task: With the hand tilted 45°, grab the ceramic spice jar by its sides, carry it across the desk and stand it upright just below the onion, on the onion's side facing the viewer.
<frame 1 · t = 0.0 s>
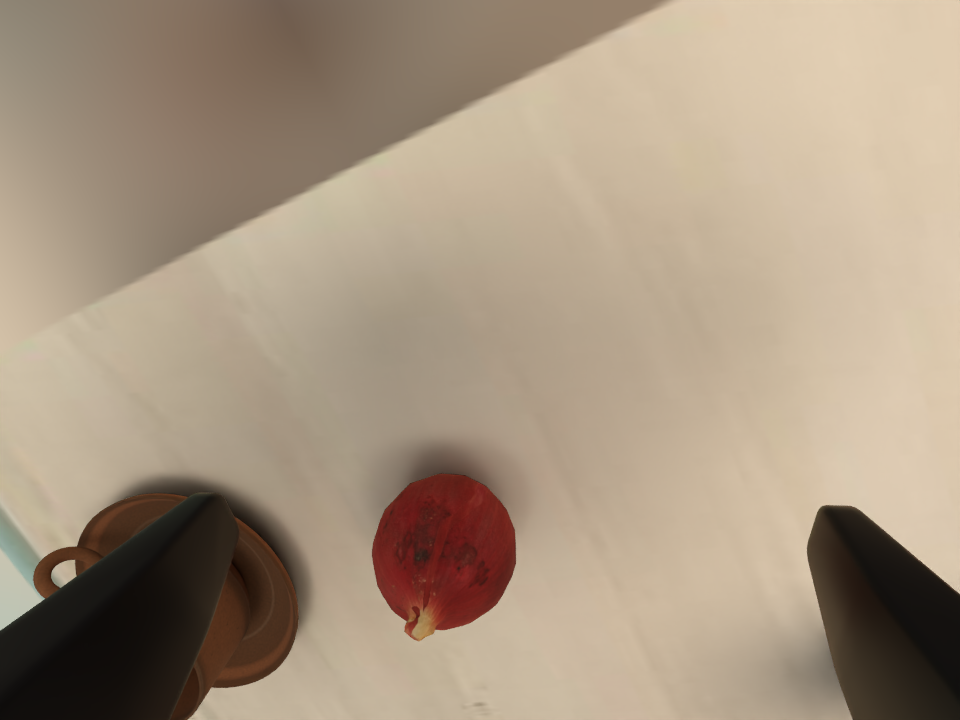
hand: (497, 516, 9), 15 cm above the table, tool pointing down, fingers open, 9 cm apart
onion: (462, 495, 27), on the table
cup and saucer: (208, 570, 31), on the table
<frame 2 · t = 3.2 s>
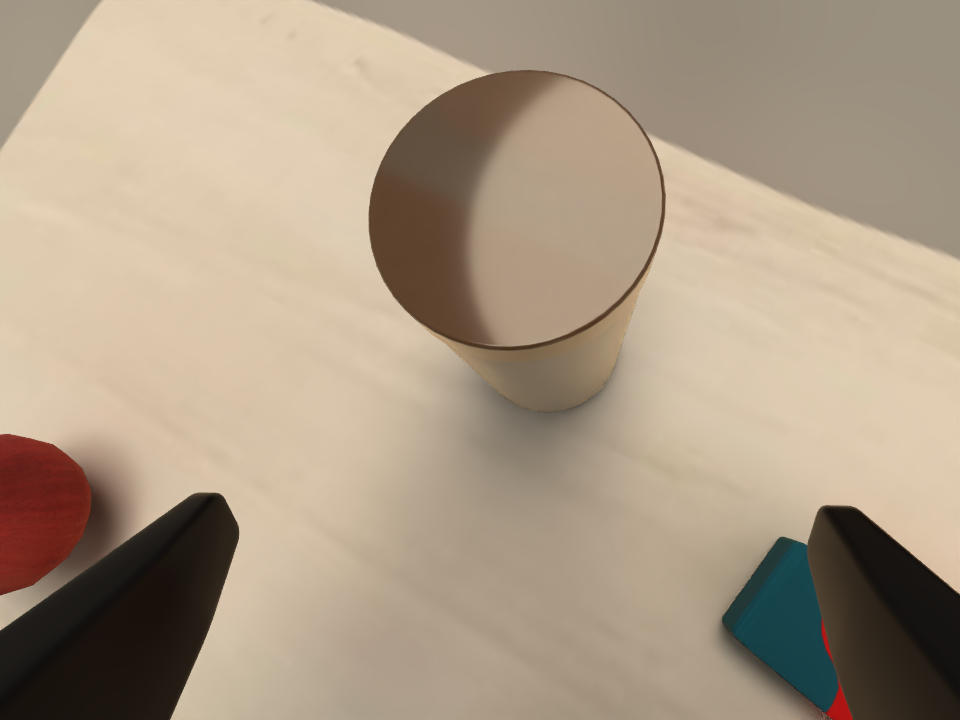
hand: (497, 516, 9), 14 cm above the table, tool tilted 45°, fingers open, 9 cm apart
onion: (83, 506, 25), on the table
spice jar: (547, 342, 23), on the table
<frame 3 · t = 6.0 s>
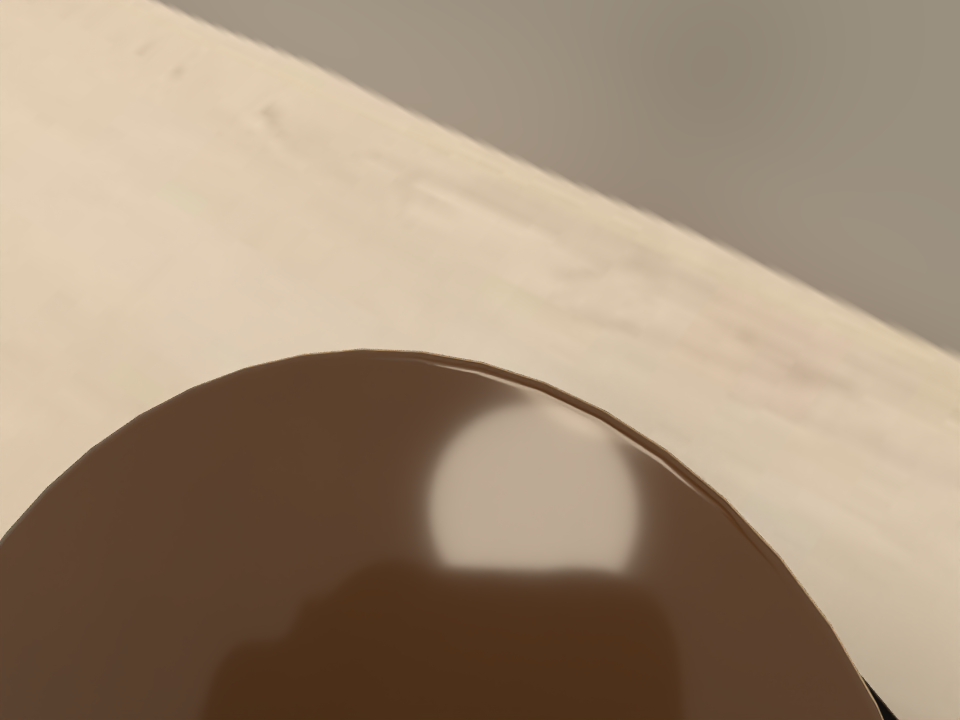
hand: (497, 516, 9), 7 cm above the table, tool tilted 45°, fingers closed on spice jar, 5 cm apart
spice jar: (532, 553, 15), on the table, touching gripper
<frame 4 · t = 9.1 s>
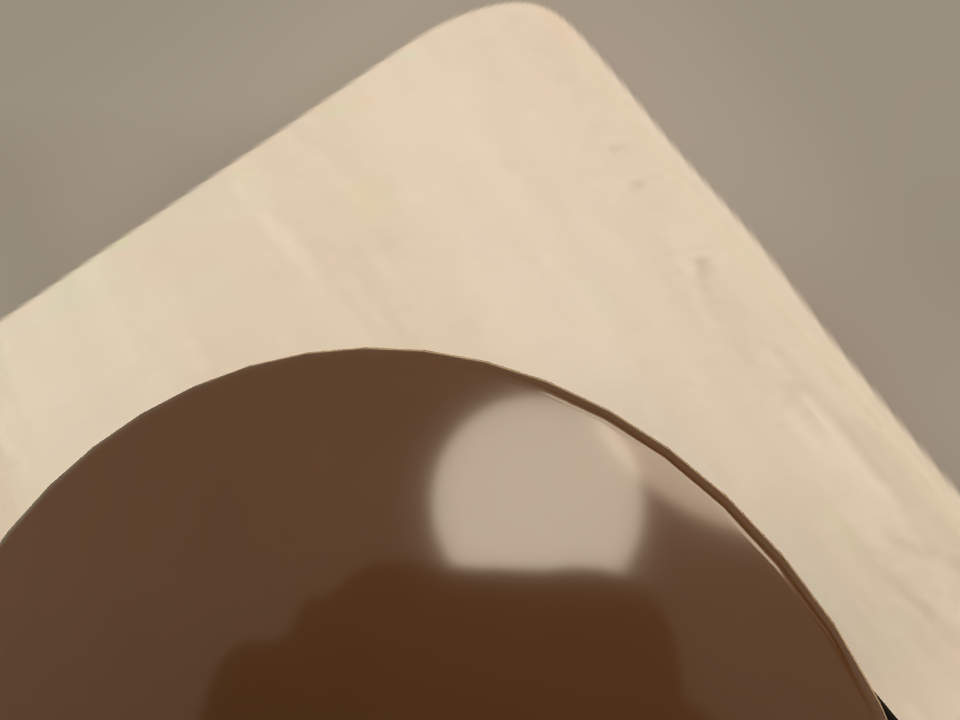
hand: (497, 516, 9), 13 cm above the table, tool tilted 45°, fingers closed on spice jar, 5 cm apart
spice jar: (532, 552, 15), point 6 cm above the table, touching gripper
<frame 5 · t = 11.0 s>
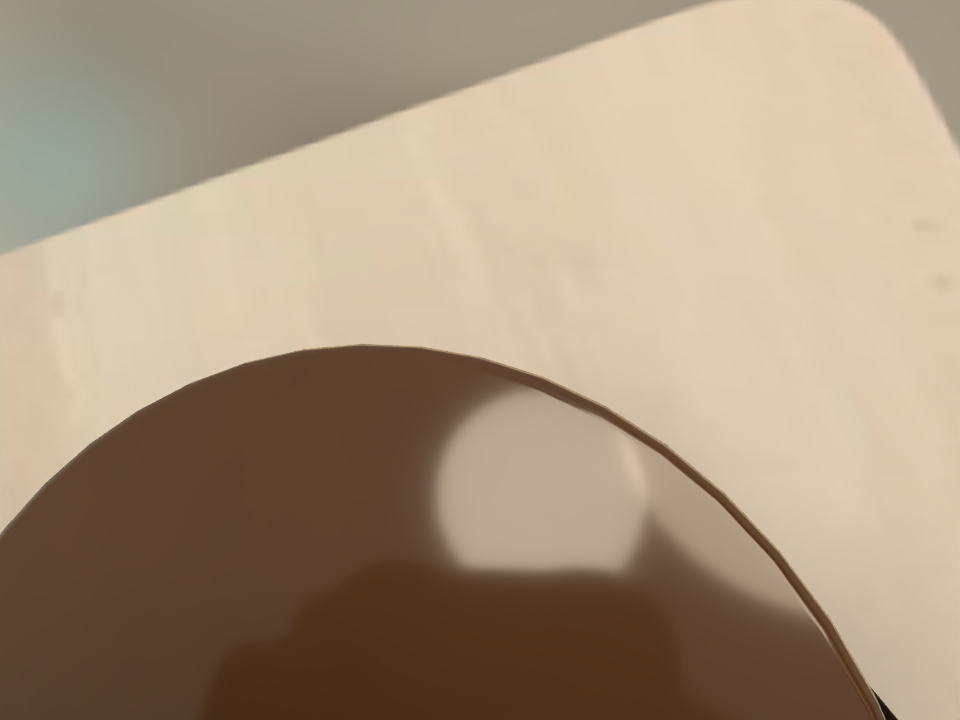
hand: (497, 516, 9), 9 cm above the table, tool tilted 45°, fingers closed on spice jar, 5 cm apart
spice jar: (531, 552, 15), point 2 cm above the table, touching gripper
when the fingers open (7 cm above the table, at t = 12.3 s): spice jar stays where it is, on the table.
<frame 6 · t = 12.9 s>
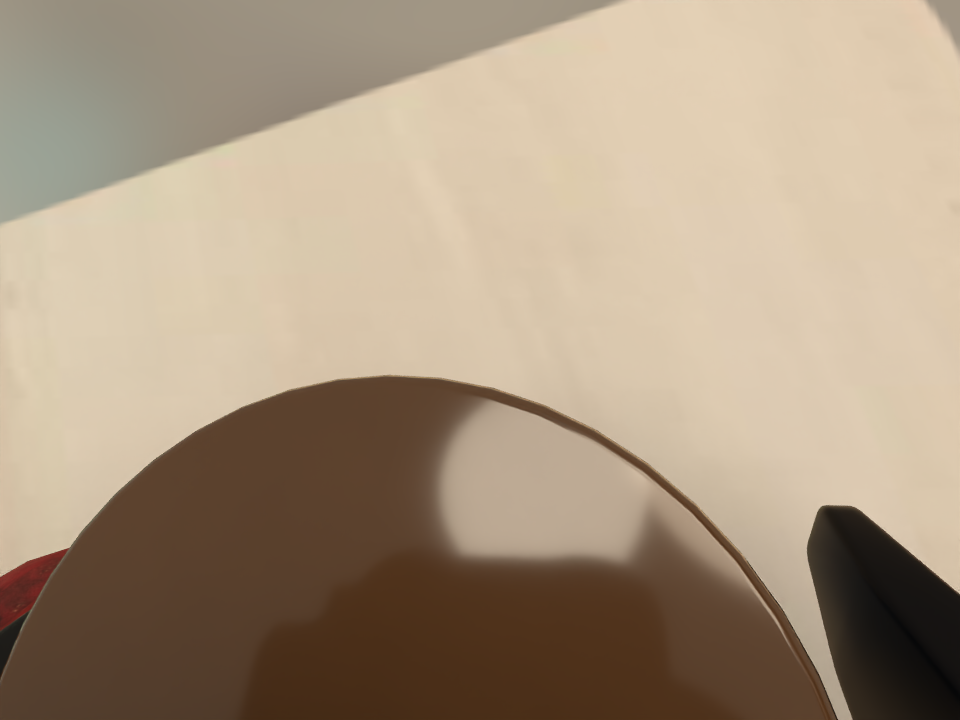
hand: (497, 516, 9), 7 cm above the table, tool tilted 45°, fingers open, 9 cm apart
onion: (198, 630, 17), on the table
spice jar: (532, 552, 15), on the table
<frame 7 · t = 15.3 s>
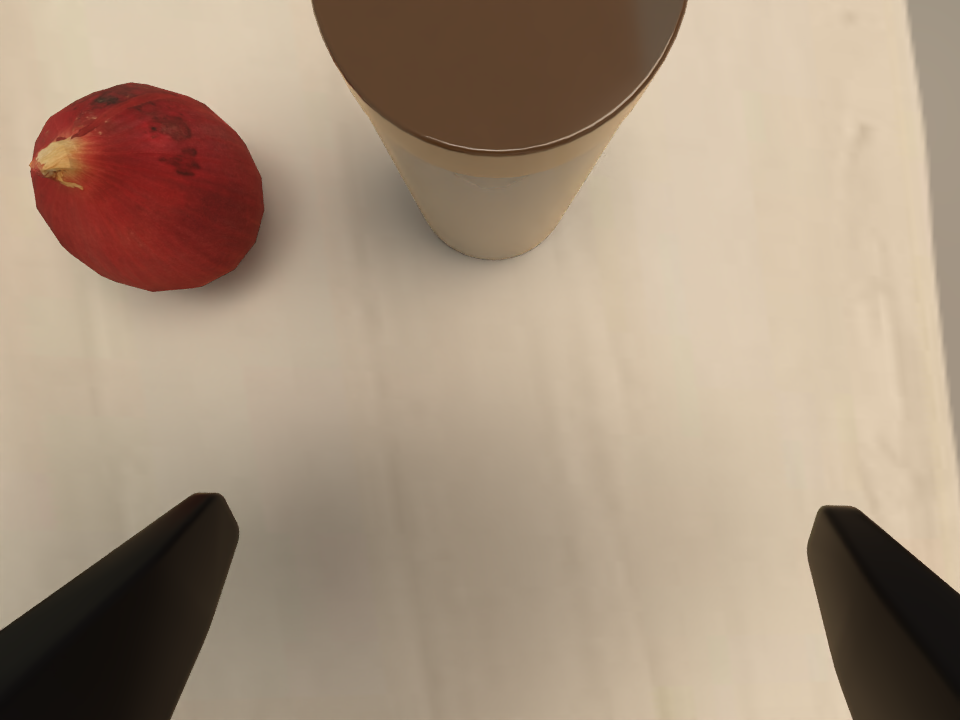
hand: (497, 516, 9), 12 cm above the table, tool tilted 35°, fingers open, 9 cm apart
onion: (219, 218, 21), on the table
spice jar: (492, 183, 21), on the table
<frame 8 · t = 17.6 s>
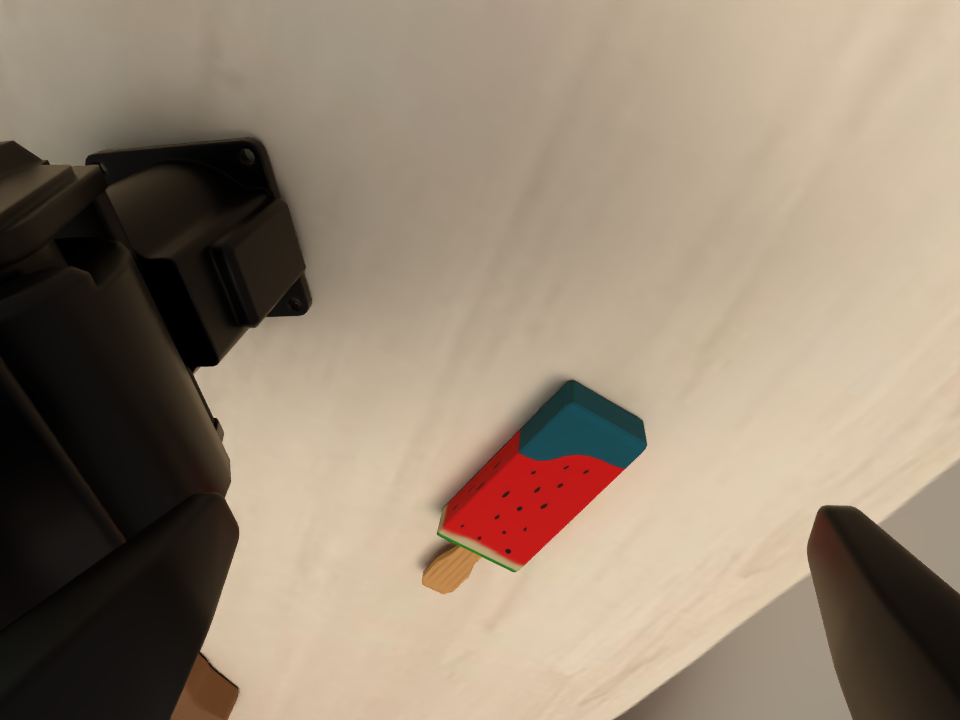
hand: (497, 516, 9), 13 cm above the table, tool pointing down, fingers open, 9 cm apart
plant: (106, 665, 43), on the table
popsicle: (509, 497, 28), on the table
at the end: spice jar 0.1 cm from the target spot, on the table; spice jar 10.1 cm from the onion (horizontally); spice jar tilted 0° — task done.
